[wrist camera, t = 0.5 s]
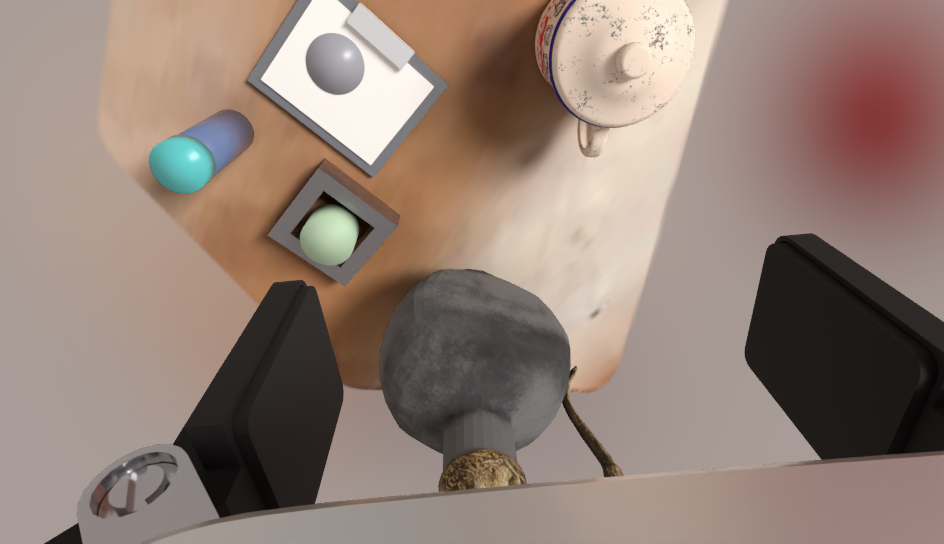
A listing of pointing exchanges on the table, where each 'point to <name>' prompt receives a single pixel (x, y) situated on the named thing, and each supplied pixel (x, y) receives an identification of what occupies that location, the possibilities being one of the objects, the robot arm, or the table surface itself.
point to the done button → (330, 234)
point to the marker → (200, 151)
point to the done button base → (350, 197)
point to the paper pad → (347, 79)
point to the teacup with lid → (614, 60)
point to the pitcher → (478, 375)
